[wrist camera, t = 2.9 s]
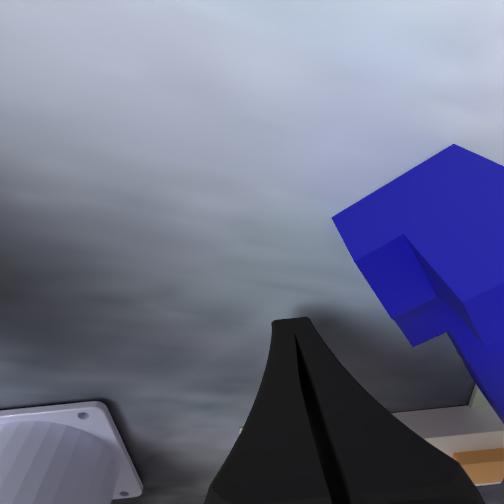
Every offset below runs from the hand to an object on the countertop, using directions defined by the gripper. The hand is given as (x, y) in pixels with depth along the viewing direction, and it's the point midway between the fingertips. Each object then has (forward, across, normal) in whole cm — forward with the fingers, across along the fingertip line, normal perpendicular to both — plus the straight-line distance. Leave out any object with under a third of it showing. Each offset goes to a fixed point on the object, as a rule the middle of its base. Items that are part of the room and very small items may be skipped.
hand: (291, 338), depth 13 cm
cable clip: (+2, -7, 0) cm, 7 cm away
